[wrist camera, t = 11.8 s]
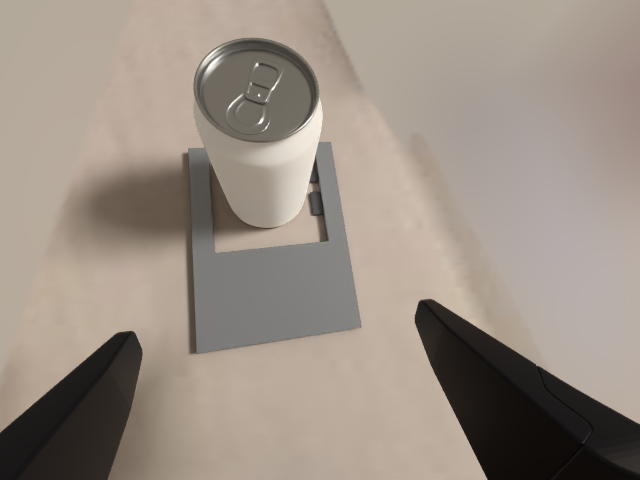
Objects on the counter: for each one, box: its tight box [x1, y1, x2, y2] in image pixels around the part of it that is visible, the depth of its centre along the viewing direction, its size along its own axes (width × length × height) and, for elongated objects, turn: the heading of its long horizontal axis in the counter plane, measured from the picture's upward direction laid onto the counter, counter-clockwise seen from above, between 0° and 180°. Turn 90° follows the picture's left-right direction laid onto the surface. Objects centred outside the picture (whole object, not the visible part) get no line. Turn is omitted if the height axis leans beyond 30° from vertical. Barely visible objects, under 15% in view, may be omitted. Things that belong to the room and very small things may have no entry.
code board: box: [188, 142, 362, 353], centre depth 24 cm, size 16×12×1 cm
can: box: [194, 38, 322, 228], centre depth 19 cm, size 6×6×12 cm
